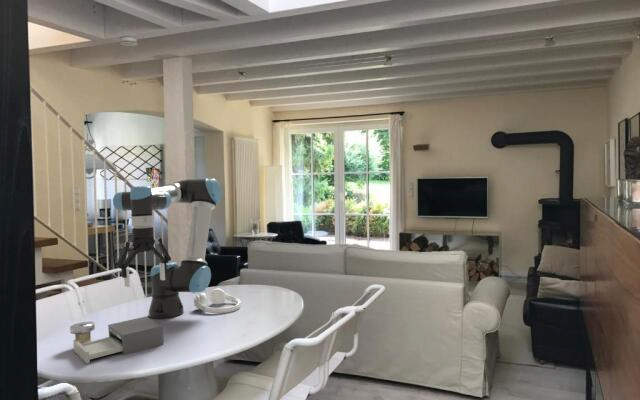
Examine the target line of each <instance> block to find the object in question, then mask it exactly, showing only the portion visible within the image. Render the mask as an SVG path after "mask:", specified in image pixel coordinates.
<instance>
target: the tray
mask: <svg viewBox="0 0 640 400" xmlns="http://www.w3.org/2000/svg"><path fill="white" fill-rule="evenodd" d="M72 342H73V351H74V352H75V354H76V355H78V357H79V358H80V359H81V360H82V361H83V362H84V363H85V364H86V365H87V364H90V363H91V361H90V360H93V359H97V358H100V357H101V358H102V357H105V356H108V355H113V354H116V353H117V354H118V353H121V352H120V351H123V343H121V342H120V341H119V340H117V339H116V338H112V337H109V336H108V337H103V338H99V339H95V340H91V341H90V342H86V343H82V344H81V343H80V342H78V341H77V340H75V339H73V341H72Z"/></svg>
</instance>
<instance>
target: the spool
mask: <svg viewBox="0 0 640 400" xmlns="http://www.w3.org/2000/svg"><path fill="white" fill-rule="evenodd" d="M91 335H92V333H91V331H90V332H87V333H82V334H74V336H75V339H74V340H77V341H78V342H80V343H81V344H82V343H86V342H90V341H92V339H91V338H92V337H91Z"/></svg>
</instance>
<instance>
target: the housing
mask: <svg viewBox="0 0 640 400" xmlns="http://www.w3.org/2000/svg"><path fill="white" fill-rule="evenodd" d="M107 329H108V337H112V338H116V339H117V340H119V341H120V342H121V343H123V351H120V352H119V353H121V354H122V355H123V356H125V355H129V354H133V353H137V352H140V351H145V350H148V349H152V348H156V347H159V346H162V345H164V330H163V325H162V324H160V323H159V322H157V321H155V320H154V319H151V318H150V317H147V316H143V317H138V318H133V319H132V318H131V319H128V320H124V321H119V322H115V323H109V324H107Z"/></svg>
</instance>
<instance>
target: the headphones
mask: <svg viewBox="0 0 640 400" xmlns="http://www.w3.org/2000/svg"><path fill="white" fill-rule="evenodd" d="M209 299H210V302H211V303H212V304H213V305H215V306H216V305H222V304H224V303H225V301H226V300H227V301H229V302H232V303H234V304H235V305H233V306H227V307H209V306H208V297H207V294H206V293H205V292H199V294H198V295H196V296H195V298H194V299H193V305H194V307H195V308H196V309H199V310H200V311H203V312H204V313H208V314H209V313H210V314H227V313H231V312H235V311H237V309H238V310H239V309H240V308H241V304H242V302H241V299H240V298H238V297H235V296H233V295H230V294H228V293H226V291H224V290H223V288H214V289H212V290H211V292H210V294H209Z"/></svg>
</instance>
